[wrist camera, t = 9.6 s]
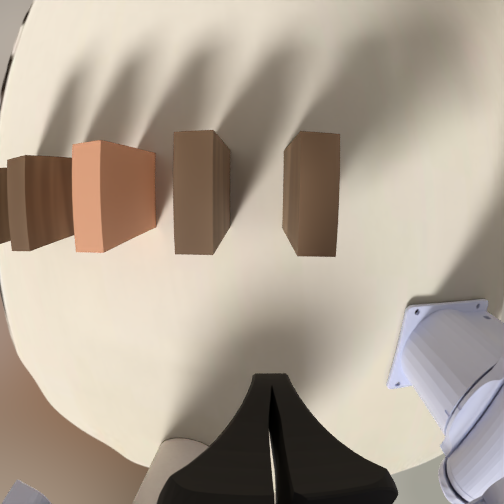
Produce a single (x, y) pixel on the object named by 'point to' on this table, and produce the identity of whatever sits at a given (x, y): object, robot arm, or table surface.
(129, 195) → the domino
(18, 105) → the table surface
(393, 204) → the table surface
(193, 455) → the coffee cup
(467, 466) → the robot arm
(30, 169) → the domino
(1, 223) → the domino
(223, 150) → the domino
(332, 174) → the domino
